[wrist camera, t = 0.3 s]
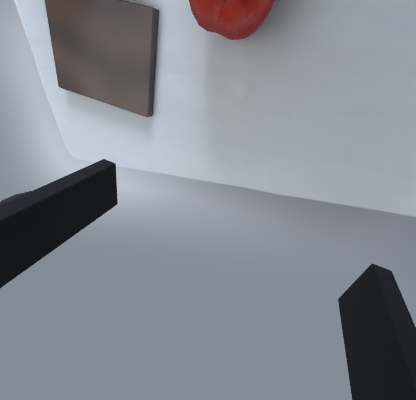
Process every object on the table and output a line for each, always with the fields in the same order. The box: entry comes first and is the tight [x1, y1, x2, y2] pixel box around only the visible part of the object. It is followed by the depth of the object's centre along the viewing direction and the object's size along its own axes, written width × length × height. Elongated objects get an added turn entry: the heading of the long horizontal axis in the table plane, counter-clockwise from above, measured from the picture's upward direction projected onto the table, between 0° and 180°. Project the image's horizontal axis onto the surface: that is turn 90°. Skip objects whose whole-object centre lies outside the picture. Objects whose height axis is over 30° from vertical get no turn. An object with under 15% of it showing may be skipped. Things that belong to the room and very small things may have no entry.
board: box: [45, 0, 159, 117], centre depth 37 cm, size 15×20×2 cm
